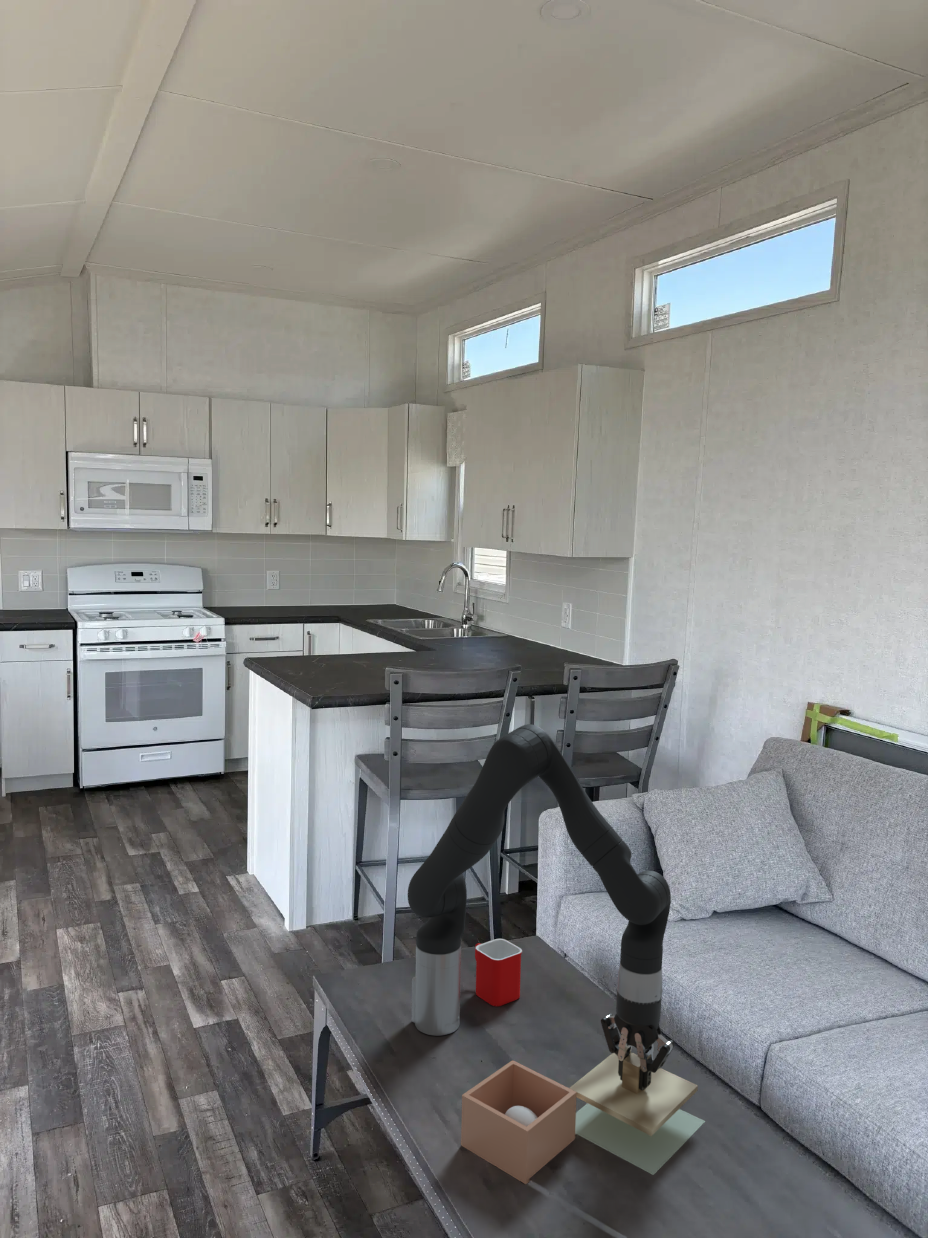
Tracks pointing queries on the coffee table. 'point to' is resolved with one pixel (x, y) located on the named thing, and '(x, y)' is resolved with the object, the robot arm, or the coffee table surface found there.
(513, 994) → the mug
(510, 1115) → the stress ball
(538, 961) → the coffee table surface
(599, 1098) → the lid
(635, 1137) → the mat
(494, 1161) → the pink box
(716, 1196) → the coffee table surface
